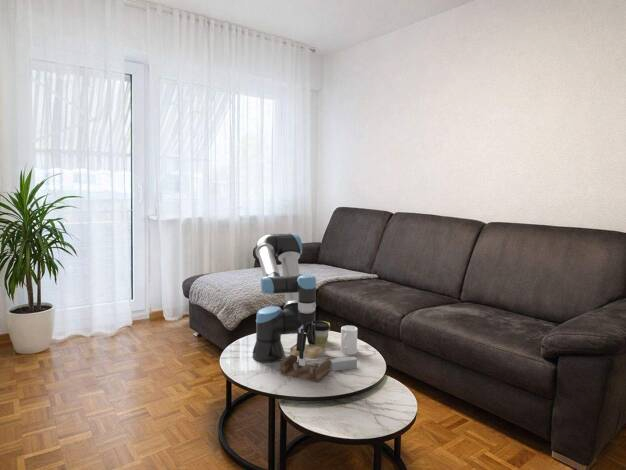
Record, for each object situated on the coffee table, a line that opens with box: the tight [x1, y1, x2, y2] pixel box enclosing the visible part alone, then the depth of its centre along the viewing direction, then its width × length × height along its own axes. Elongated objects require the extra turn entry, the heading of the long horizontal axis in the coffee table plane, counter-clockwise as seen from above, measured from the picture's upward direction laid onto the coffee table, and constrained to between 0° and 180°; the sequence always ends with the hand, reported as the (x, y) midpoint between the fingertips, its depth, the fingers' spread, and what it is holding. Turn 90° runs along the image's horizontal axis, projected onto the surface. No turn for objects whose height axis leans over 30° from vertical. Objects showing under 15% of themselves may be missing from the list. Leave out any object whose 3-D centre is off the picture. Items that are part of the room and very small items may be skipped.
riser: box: [330, 356, 358, 372], centre depth 191 cm, size 12×3×4 cm, turn 110°
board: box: [289, 343, 322, 360], centre depth 185 cm, size 12×7×3 cm, turn 65°
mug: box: [339, 325, 358, 356], centre depth 209 cm, size 12×8×12 cm
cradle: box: [280, 354, 331, 383], centre depth 186 cm, size 18×12×6 cm, turn 65°
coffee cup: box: [313, 320, 331, 357], centre depth 207 cm, size 10×10×15 cm
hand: (306, 361), depth 186 cm, fingers closed on board, 7 cm apart
